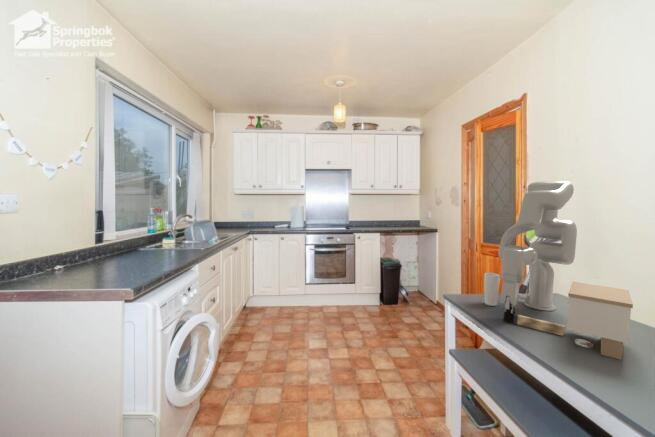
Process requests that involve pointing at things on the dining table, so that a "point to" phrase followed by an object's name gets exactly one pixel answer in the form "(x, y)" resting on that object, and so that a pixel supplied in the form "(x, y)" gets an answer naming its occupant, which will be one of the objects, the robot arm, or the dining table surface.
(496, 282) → the drinking glass
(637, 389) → the dining table surface
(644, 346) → the dining table surface
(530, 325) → the two-tone wooden stick
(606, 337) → the cabinet
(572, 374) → the dining table surface
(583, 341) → the steel disc
